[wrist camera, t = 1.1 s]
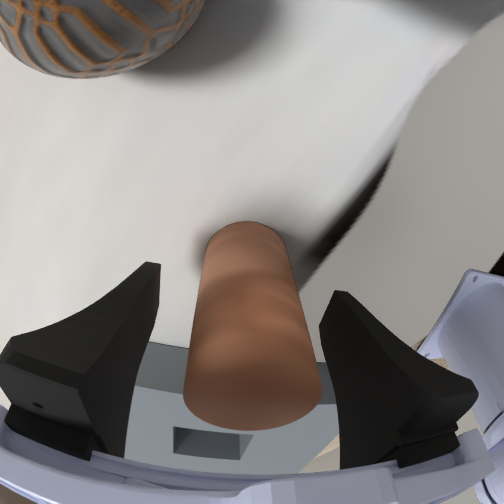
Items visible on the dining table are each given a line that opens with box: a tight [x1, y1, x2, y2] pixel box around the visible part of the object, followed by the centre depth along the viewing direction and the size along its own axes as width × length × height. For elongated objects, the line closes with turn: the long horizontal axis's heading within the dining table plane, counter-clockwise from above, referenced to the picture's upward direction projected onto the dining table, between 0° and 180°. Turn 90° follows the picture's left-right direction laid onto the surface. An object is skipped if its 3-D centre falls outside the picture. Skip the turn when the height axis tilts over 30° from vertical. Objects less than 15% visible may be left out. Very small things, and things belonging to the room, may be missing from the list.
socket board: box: [124, 342, 339, 475], centre depth 20 cm, size 18×14×4 cm
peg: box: [183, 221, 323, 431], centre depth 11 cm, size 4×4×8 cm
